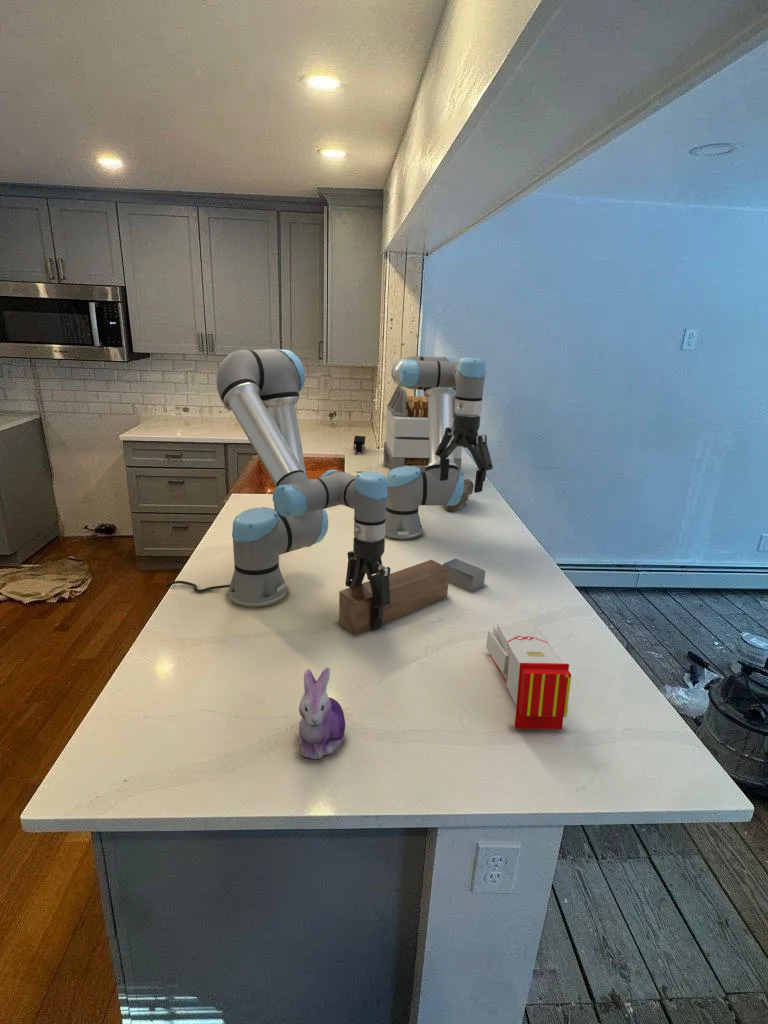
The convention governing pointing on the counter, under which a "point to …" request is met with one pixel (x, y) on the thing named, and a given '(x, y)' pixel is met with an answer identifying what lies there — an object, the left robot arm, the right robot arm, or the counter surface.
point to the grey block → (465, 575)
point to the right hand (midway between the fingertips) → (460, 485)
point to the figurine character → (359, 443)
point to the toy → (531, 675)
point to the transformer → (410, 431)
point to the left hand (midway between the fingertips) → (366, 620)
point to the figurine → (319, 718)
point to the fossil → (465, 495)
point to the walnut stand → (394, 595)
